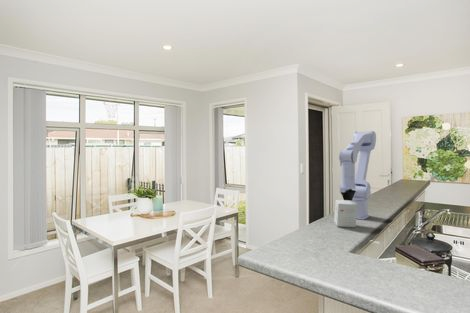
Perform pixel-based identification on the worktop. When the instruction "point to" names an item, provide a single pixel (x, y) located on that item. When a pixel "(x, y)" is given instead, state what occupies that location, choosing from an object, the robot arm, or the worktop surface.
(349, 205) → the small box
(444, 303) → the worktop surface
